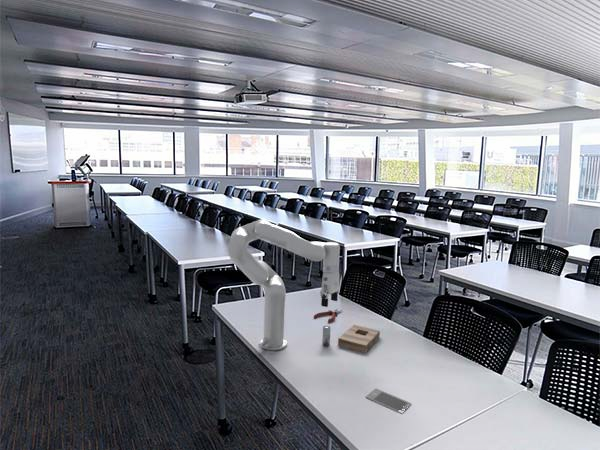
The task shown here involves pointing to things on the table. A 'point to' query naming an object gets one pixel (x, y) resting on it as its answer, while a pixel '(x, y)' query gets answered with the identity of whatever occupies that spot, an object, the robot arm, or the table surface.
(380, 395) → the smartphone
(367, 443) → the table surface
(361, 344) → the socket block
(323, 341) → the pin
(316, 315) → the pliers
